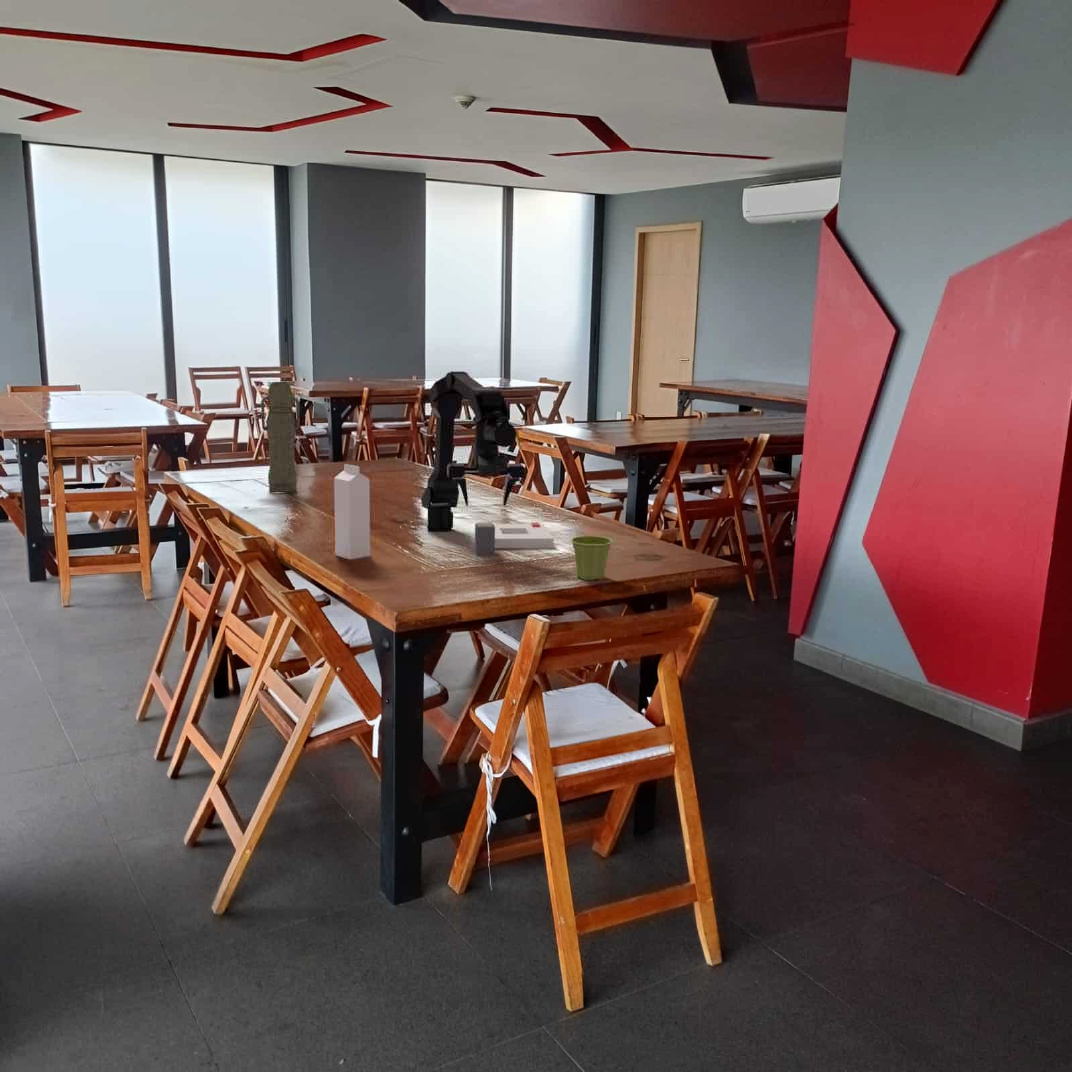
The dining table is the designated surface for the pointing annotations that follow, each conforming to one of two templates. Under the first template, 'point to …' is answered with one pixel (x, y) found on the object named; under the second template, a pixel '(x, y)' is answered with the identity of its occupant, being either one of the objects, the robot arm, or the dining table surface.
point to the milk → (352, 513)
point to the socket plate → (522, 536)
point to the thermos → (281, 436)
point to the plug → (484, 538)
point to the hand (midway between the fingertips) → (485, 505)
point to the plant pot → (591, 556)
